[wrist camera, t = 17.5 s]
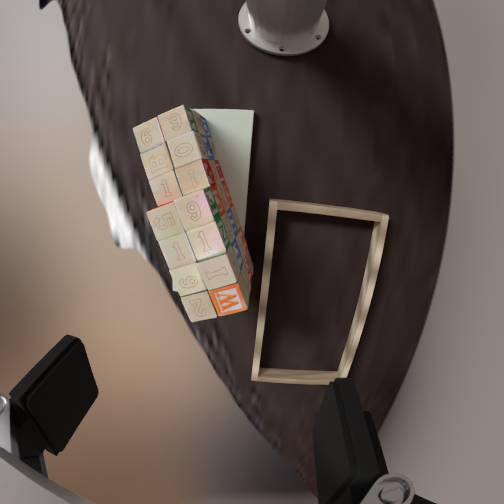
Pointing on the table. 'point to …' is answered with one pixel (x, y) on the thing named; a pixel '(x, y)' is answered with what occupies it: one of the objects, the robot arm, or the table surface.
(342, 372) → the beige open rectangular frame
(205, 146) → the stack of blocks
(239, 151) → the sage mat
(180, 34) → the table surface
